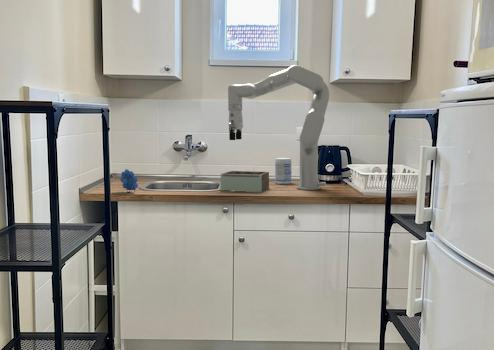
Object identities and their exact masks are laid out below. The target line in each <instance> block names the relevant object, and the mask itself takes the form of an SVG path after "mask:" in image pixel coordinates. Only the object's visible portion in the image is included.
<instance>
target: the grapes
mask: <svg viewBox="0 0 494 350" xmlns="http://www.w3.org/2000/svg"><path fill="white" fill-rule="evenodd" d="M120 174H121V177H120V182H121V183H122V188H123V189H125V190H126V191H127V190H136V191H137V188H138V187H139V184H138V183H137V182H138V180H139V179H138V177H137V176H135V172H134V171H132V170H131V171H130V169H126V168H125V170H124V171H122V172H121V173H120Z"/></svg>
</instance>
